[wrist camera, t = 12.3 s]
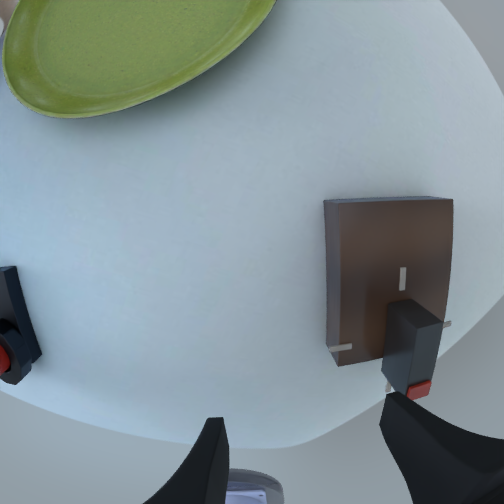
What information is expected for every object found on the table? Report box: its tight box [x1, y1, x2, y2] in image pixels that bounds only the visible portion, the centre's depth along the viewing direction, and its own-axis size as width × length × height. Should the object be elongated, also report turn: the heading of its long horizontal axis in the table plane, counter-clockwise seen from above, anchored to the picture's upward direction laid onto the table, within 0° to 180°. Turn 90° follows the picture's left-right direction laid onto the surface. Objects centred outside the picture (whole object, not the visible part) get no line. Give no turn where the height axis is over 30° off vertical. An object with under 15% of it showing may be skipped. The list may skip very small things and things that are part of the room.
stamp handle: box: [381, 299, 443, 400], centre depth 15 cm, size 5×2×4 cm, turn 6°
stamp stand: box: [324, 196, 453, 392], centre depth 18 cm, size 13×9×3 cm
